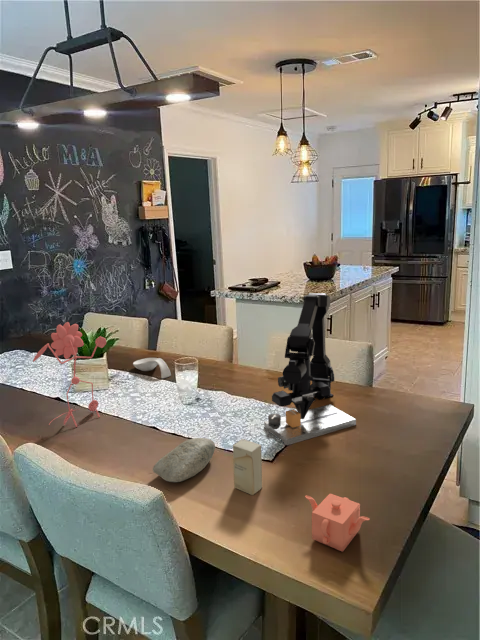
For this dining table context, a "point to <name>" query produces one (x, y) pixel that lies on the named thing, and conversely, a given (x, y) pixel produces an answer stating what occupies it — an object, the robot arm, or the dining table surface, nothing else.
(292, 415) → the fader
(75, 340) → the figurine
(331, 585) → the dining table surface
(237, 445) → the skincare box
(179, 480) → the rock
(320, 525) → the teapot
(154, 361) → the spoon rest
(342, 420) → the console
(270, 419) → the dial
